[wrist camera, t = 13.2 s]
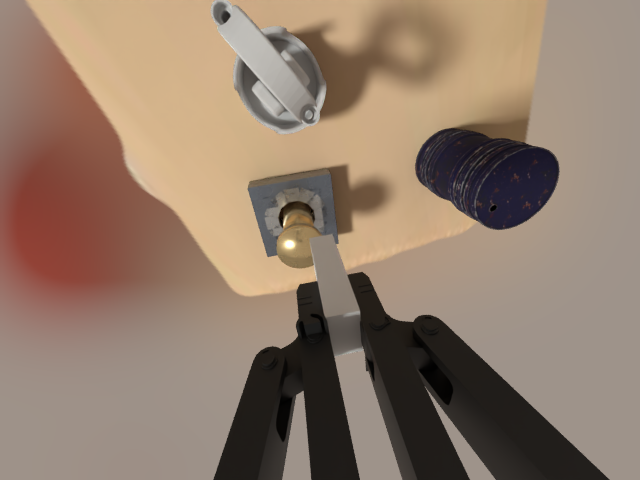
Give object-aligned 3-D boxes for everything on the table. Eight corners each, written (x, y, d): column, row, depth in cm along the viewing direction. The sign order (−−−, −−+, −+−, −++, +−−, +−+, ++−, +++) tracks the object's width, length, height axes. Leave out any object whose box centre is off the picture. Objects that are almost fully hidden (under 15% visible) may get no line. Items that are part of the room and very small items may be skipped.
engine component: (282, 143, 37) (334, 88, 35) (285, 191, 20) (390, 87, 17) (218, 76, 32) (273, 7, 30) (146, 61, 15) (264, -110, 12)
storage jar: (458, 112, 38) (548, 124, 26) (482, 161, 43) (569, 192, 30) (403, 158, 41) (460, 190, 28) (431, 201, 45) (491, 245, 32)
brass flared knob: (282, 229, 44) (282, 272, 34) (274, 196, 41) (271, 232, 31) (317, 222, 44) (327, 263, 34) (311, 189, 41) (321, 223, 31)
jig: (249, 181, 39) (247, 188, 37) (327, 168, 40) (330, 173, 37) (268, 247, 45) (267, 256, 43) (335, 234, 46) (338, 243, 43)
